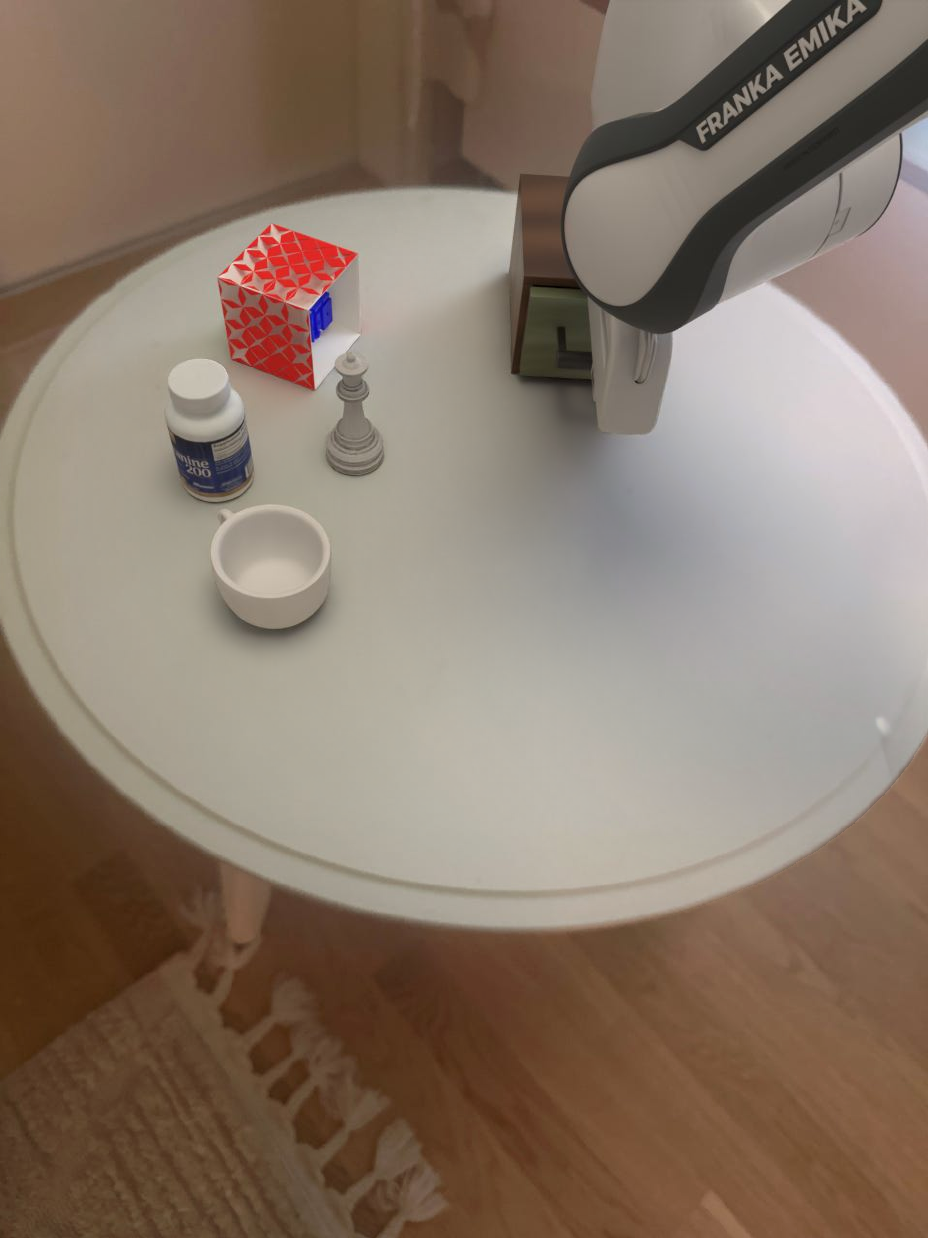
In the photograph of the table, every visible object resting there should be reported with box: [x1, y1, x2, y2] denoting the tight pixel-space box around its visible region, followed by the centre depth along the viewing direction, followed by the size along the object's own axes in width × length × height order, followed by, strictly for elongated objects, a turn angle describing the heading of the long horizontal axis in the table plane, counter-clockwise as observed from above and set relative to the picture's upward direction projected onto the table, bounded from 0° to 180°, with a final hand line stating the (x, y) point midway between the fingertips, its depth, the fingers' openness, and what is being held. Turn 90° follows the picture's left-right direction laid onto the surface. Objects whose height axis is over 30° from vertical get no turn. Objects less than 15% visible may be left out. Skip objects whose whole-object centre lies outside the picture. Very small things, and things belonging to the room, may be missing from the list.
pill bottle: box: [164, 358, 255, 503], centre depth 70 cm, size 5×5×10 cm
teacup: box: [209, 503, 333, 630], centre depth 66 cm, size 10×8×5 cm
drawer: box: [519, 285, 593, 380], centre depth 80 cm, size 17×10×8 cm, turn 179°
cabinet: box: [508, 173, 580, 375], centre depth 82 cm, size 14×12×10 cm
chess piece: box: [325, 351, 385, 476], centre depth 72 cm, size 4×4×10 cm
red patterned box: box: [216, 222, 362, 391], centre depth 79 cm, size 8×8×8 cm
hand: (602, 389), depth 73 cm, fingers closed
